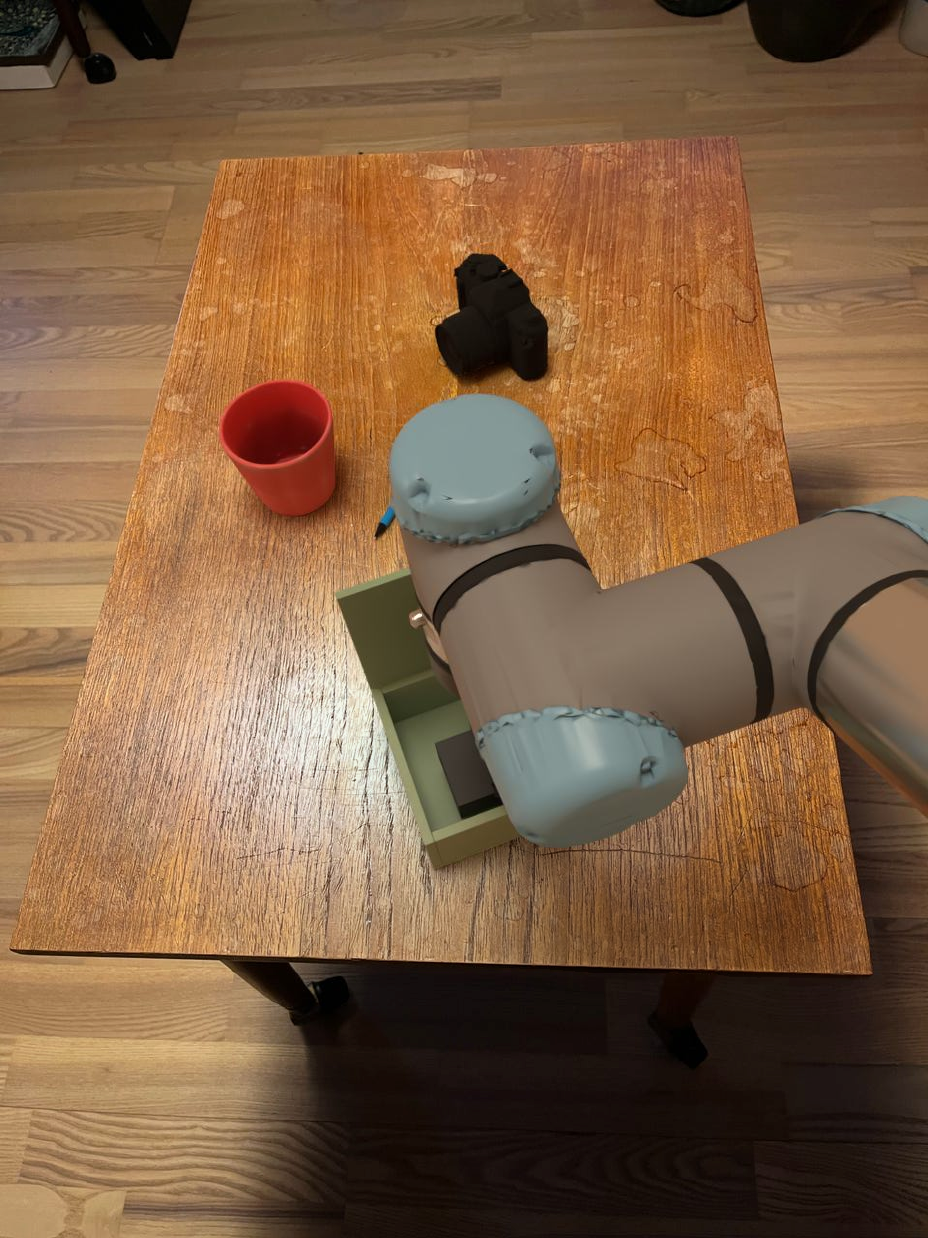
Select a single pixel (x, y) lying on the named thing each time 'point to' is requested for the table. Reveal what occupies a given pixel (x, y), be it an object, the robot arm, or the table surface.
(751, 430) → the table surface
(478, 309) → the film camera
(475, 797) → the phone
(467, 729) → the case
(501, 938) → the table surface
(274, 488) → the flower pot
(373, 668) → the cover
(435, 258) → the table surface
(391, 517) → the pen
